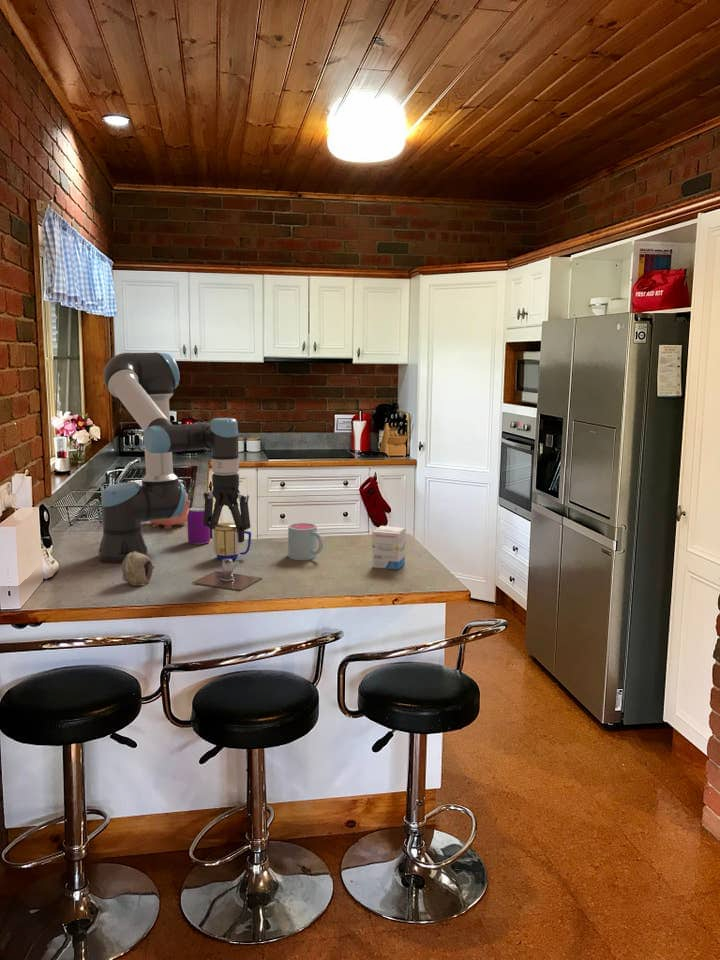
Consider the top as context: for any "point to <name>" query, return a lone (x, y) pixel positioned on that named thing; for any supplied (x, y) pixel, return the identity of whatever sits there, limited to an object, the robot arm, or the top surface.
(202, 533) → the beverage can
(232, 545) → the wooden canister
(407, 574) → the top surface
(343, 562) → the top surface
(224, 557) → the mug
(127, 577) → the beige round pot
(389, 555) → the ink box
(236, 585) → the square plate with knob
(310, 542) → the mug
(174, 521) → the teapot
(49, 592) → the top surface
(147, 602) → the top surface
